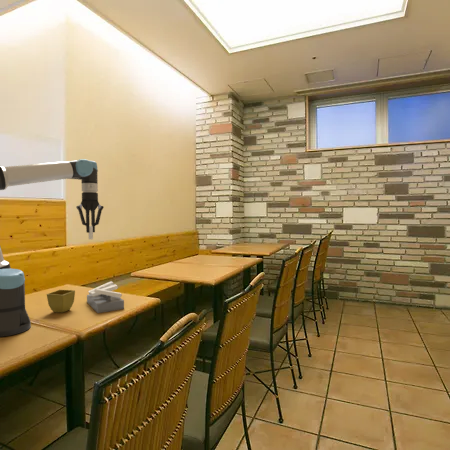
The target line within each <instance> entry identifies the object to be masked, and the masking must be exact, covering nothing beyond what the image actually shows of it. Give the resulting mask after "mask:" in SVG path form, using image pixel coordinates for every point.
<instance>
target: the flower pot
mask: <svg viewBox="0 0 450 450" xmlns="http://www.w3.org/2000/svg"><path fill="white" fill-rule="evenodd" d="M75 294H76V290H74V289H73V290H72V289H58V290H55V291H52V292H49V293H46V297H47V298H46V300H47V303H48V306H49V308H50V310H51V311H52V312H53V313H60V314H61V313H62V314H63V313H65V312H67V311H69V310H71V309H72V307H73V304H74V302H75V296H76V295H75Z"/></svg>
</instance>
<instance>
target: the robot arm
mask: <svg viewBox="0 0 450 450" xmlns="http://www.w3.org/2000/svg"><path fill="white" fill-rule="evenodd" d="M98 172H99V170H98V164H97V162H96V161H95V160H89V159H85V158H81V159H77V160H76V159H75V160H67V161H65V160H64V161H54V162H44V163H33V164H21V165H20V164H19V165H11V166H2V165H1V164H0V191H4V190H6V189H8V187H15V186H22V185H30V184H37V183H38V184H39V183H45V182H51V181H58V180H66V179H67V180H80V181H81V192H82V193H81V202H80V204H78V205H77V206H76V209H77V210H78V211H77V212H78V215H79V218H80V220H81V224H82V225H83V226H85V227H86V228H85V229H86V231H85V232H86V233H87V234H88V240H94V233H96V226H98V225H99V224H100V220H101V215H102V211H103V209H104V206H103V205H101V204H100V202H99V193H98V192H99V189H98V188H99V185H98V183H99V182H98V181H99V180H98ZM83 209H84V211H85V216H84V213H83ZM96 209H97V214H96ZM90 217H91V218H90ZM90 221H91V222H90ZM90 224H91V225H90ZM25 281H26V279H25V273H24V271H22V270H21V269H18V268H11V264H10V262H9V261H7V260H5V258H4V254H3V251H2V248H1V246H0V338H1V337H8V336H14V335H18V334H21V333H24V332H26V331H28V330H30V328H32V325H31V324H32V322H31V319H30V316H29V314H28V312H27V309H26V294H25V293H26V291H25V290H26V288H25V286H26V284H25Z"/></svg>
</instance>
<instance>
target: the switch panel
mask: <svg viewBox="0 0 450 450" xmlns="http://www.w3.org/2000/svg"><path fill="white" fill-rule="evenodd" d="M86 303H87V304H88V305H89V307H91V309H93V310H94V312H96V313H97V314H100V313H101V314H102V313H106V312H113V311H114V312H115V311H119V310H123V309H124V310H125V300H124V299H122V297H115V296H109V295H104V294H100V295H97V296H94V297H93V296H92V295H90V294H89V293H88V294H86Z"/></svg>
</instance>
